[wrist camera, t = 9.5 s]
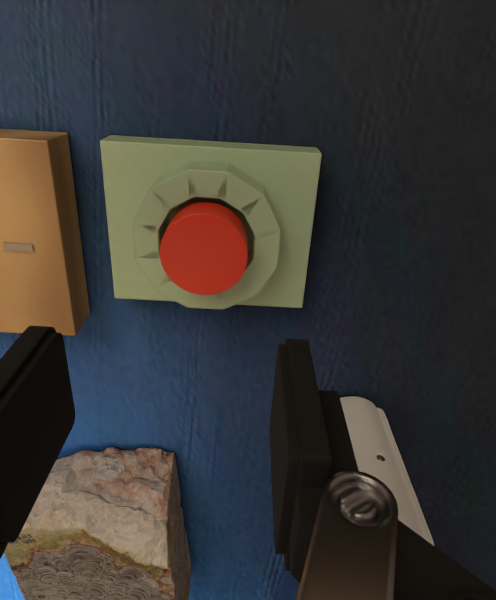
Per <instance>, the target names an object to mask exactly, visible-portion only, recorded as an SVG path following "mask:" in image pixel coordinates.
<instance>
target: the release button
mask: <svg viewBox="0 0 496 600" xmlns="http://www.w3.org/2000/svg"><path fill="white" fill-rule="evenodd" d="M160 260H161V264H162V266H163V269H164V271H165V272H166V274H167V275H168V277H169V278H170V279H171V280H172V281H173V282H174V283H175V284H176V285H177V286H179V287H180V288H182V289H184V290H186V291H188V292H191V293H194V294H199V295H213V294H218V293H221V292H223V291H226V290H228V289H229V288H231V287H232V286H234V285H235V284H236V283H237V282H238V281H239V280H240V278H241V277H242V275H243V274H244V272H245V269H246V266H247V262H248V235H247V231H246V228H245V226H244V224H243V223H242V221H241V219H240V218H239V217H238V216H237V215H236V214H235V213H234V212H233V211H231V210H230V209H229V208H227V207H225V206H223V205H220V204H217V203H212V202H198V203H194V204H191V205H188V206H186V207H184V208H183V209H181V210H180V211H179V212H178V213H177V214H176V215H175V216H174V217H173V218H172V220H171V222H170V224H169V226H168V227H167V229H166V231H165V233H164V235H163V237H162V240H161V244H160Z"/></svg>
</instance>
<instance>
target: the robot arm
mask: <svg viewBox="0 0 496 600" xmlns="http://www.w3.org/2000/svg"><path fill="white" fill-rule="evenodd" d="M74 420H75V408H74V402H73V396H72V390H71V384H70V377H69V371H68V365H67V359H66V353H65V346H64V340H63V336H62V334H61V333H57V332H56V330H55V328H54V327H48V326H29V327H28V328H27V329H26V330H25V331H24V332H23V333H22V334H21V336H20V337H19V338H18V339H17V340H16V342H15V343H14V344H13V345H12V346H11V347H10V349H9V350H8V351H7V352H6V353H5V355H4V356H3V357H2V358H1V359H0V559H1V557H2V555H3V553H4V551H5V549H6V547H7V545H8V543H9V542H10V543H13V542H15V541H16V540H17V538H18V536H19V535H20V532H21V530H22V528H23V526H24V524H25V522H26V520H27V518H28V516H29V514H30V512H31V510H32V508H33V506H34V504H35V502H36V500H37V498H38V496H39V494H40V492H41V490H42V488H43V486H44V484H45V482H46V480H47V478H48V476H49V474H50V472H51V470H52V467H53V465H54V463H55V461H56V459H57V457H58V455H59V453H60V451H61V449H62V447H63V445H64V443H65V441H66V439H67V437H68V435H69V433H70V431H71V429H72V427H73V424H74ZM270 452H271V474H272V495H273V517H274V539H275V553H276V554H284V562H285V571H291V575H292V576H293V577H295V578H296V579H297V580H298V581H299V582H300V587H299V591H298V595H297V599H296V600H496V591H494V590H493V589H492V588H490V587H489V586H488V585H486V584H485V583H484V582H482V581H481V580H480V579H478V578H477V577H475V576H474V575H473V574H471V573H470V572H469V571H467V570H466V569H465V568H463V567H462V566H461V565H459V564H458V563H456V562H455V561H454V560H452V559H451V558H450V557H448V556H447V555H446V554H444V553H443V552H442V551H440V550H439V549H437V548H436V547H435V546H433V545H432V544H431V543H429V542H428V541H427V540H425V539H424V538H423V537H421V536H420V535H418V534H417V533H416V532H414V531H413V530H412V529H410V528H409V527H408V526H406V525H405V524H404V523H402V522H401V521H399V520H398V505H397V501H396V499H395V497H394V495H393V493H392V491H391V490H390V489H389V488H388V487H387V486H386V485H385V484H384V483H383V482H382V481H380V480H379V479H377V478H376V477H374V476H372V475H370V474H367V473H365V472H360V471H359V470H358V466H357V462H356V458H355V455H354V451H353V447H352V443H351V439H350V435H349V431H348V428H347V424H346V420H345V416H344V412H343V408H342V404H341V401H340V397H339V394H338V392H337V391H322V390H318V387H317V382H316V377H315V372H314V367H313V362H312V357H311V352H310V347H309V342H308V340H300V339H287V340H286V344H278V351H277V360H276V370H275V380H274V389H273V399H272V409H271V418H270Z"/></svg>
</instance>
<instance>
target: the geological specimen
mask: <svg viewBox="0 0 496 600" xmlns="http://www.w3.org/2000/svg"><path fill="white" fill-rule="evenodd" d="M180 502H181V492H180V486H179V478H178V472H177V465H176V458H175V454H174V452H172V453H169V452H165V451H163V450H162V449H157V448H152V447H151V448H141V447H140V448H138V449H136V450H119V449H117V448H115V447H109V448H106V449H105V450H104V451H100V452H97V451H90V450H84V451H78V452H76V453H75V454H74V455H71V456H67V457H64V458H61V459H58V460H56V461H55V463H54V465H53V467H52V470H51V472H50V474H49V476H48V478H47V480H46V482H45V484H44V486H43V488H42V490H41V492H40V494H39V496H38V498H37V500H36V502H35V504H34V506H33V508H32V510H31V512H30V514H29V516H28V518H27V520H26V522H25V524H24V526H23V528H22V530H21V532H20V535H19V536H18V538H17V540H16V541H15V542H13V543H10V542H9V543H8V545H7V547H6V549H5V551H4V554H5V556H6V558H7V561H8V563H9V565H10V568H11V570H12V572H13V574H14V575H15V576H16V577H17V583H18V586H19V588H20V590H21V592H22V594H23V596H24V599H25V600H188V596H189V586H190V576H191V559H190V553H189V549H188V539H187V535H186V528H185V526H184V515H183V507H182V506H181V505H180Z"/></svg>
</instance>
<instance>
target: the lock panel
mask: <svg viewBox="0 0 496 600" xmlns="http://www.w3.org/2000/svg"><path fill="white" fill-rule="evenodd" d="M89 314H90V309H89V301H88V293H87V285H86V277H85V268H84V260H83V252H82V244H81V236H80V228H79V220H78V212H77V204H76V196H75V188H74V180H73V172H72V164H71V156H70V148H69V140H68V134H67V133H66V132H49V131H32V130H15V129H0V332H9V333H23V332H24V331H25V330H26V329H27V328H28V327H29V326H48V327H54V328H55V330H56V332H57V333H61V334H62V335H68V336H76V334H77V333H78V331H79V330H80V328H81V326H82V325H83V323H84V322H85V320H86V319H87V317H88V316H89Z"/></svg>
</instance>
